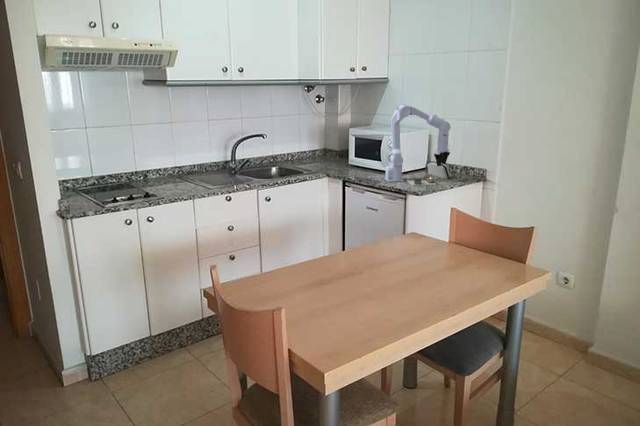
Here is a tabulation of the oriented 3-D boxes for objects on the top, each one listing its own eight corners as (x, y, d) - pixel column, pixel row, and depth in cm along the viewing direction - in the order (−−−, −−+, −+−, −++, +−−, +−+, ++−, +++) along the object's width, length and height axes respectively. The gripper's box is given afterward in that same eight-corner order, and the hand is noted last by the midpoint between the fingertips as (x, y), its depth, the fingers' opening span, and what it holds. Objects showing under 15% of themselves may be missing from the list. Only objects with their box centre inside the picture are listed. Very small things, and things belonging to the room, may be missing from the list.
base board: (412, 185, 275) (412, 184, 275) (406, 180, 287) (406, 179, 287) (436, 185, 277) (436, 184, 276) (429, 180, 289) (429, 179, 289)
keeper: (415, 184, 275) (415, 179, 275) (412, 182, 281) (412, 177, 280) (421, 184, 276) (421, 179, 275) (418, 182, 281) (418, 177, 280)
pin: (430, 179, 278) (430, 178, 278) (428, 179, 280) (429, 177, 280) (433, 179, 279) (433, 178, 278) (432, 179, 280) (432, 177, 280)
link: (435, 183, 278) (435, 180, 278) (429, 183, 278) (429, 180, 278) (428, 178, 290) (428, 176, 289) (422, 178, 289) (422, 176, 289)
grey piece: (452, 177, 296) (449, 163, 292) (446, 181, 295) (443, 166, 290) (434, 172, 310) (431, 158, 306) (428, 176, 309) (425, 161, 305)
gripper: (445, 143, 275) (443, 167, 278) (454, 141, 286) (452, 163, 290) (433, 142, 278) (431, 166, 282) (442, 140, 290) (440, 162, 294)
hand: (441, 165), depth 286 cm, fingers open, 7 cm apart
